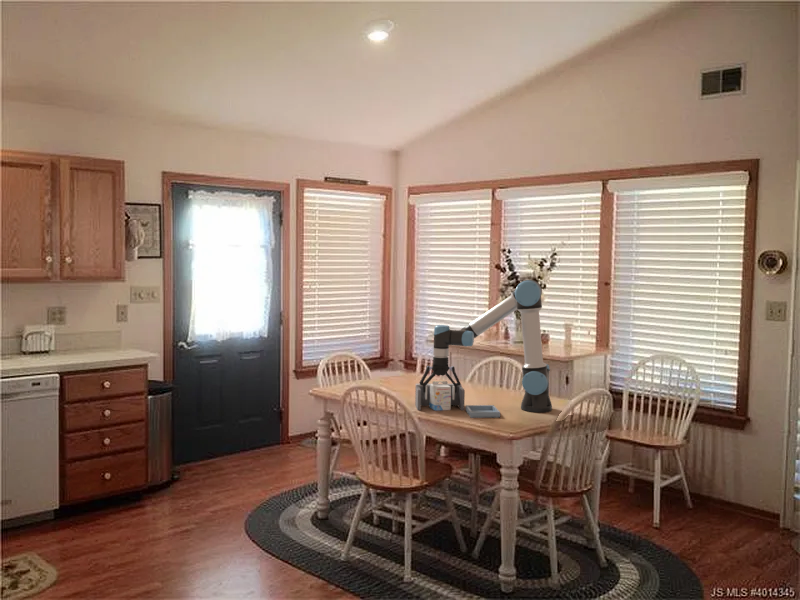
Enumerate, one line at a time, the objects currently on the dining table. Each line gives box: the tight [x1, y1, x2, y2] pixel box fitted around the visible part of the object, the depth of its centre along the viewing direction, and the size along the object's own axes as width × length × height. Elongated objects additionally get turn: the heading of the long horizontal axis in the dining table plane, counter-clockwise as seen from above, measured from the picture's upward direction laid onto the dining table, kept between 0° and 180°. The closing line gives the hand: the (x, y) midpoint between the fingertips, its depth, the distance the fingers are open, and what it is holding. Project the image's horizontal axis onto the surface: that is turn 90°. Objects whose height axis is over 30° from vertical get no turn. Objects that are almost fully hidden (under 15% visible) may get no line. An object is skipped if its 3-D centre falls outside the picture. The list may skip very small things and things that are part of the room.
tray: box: [464, 404, 501, 419], centre depth 342 cm, size 14×15×3 cm
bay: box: [414, 383, 466, 411], centre depth 354 cm, size 23×13×11 cm, turn 94°
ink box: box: [429, 380, 452, 411], centre depth 352 cm, size 9×8×13 cm
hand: (439, 399), depth 352 cm, fingers open, 13 cm apart
